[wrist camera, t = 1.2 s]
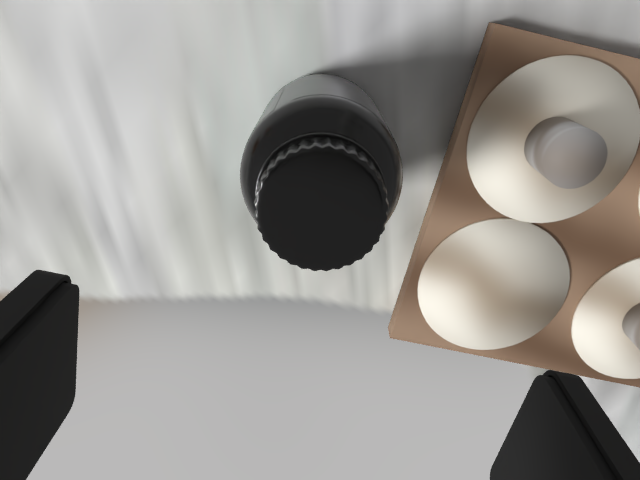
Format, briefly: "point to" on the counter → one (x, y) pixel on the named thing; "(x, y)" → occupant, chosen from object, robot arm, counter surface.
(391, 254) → the counter surface
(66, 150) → the counter surface
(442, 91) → the counter surface
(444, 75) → the counter surface
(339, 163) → the supplement bottle
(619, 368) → the board
